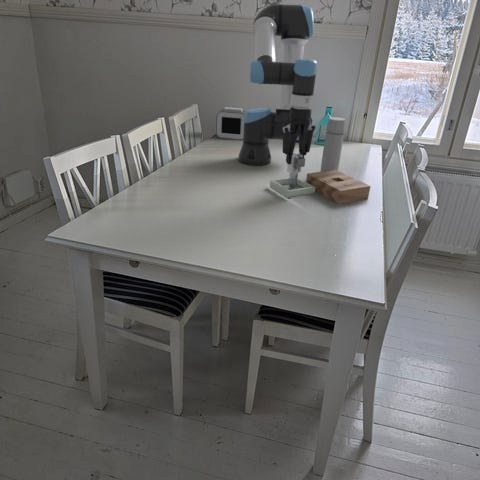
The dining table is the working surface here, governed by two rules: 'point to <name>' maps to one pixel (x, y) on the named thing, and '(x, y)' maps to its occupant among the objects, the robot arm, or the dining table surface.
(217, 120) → the grey monitor with handle
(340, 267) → the dining table surface
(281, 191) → the tray
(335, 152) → the water bottle
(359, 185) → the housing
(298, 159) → the t key
